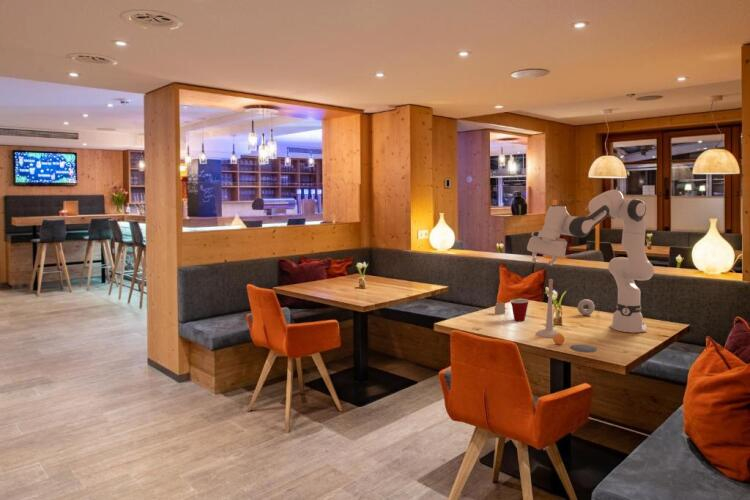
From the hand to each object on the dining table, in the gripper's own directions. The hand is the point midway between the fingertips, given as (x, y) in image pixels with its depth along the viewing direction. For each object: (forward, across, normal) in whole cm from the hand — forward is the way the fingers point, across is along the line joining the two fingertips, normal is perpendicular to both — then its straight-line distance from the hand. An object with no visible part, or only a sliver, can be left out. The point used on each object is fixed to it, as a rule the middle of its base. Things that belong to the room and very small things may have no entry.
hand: (542, 263), depth 275 cm
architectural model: (+33, +50, -45) cm, 75 cm away
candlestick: (+34, +3, -27) cm, 44 cm away
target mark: (+34, -22, -19) cm, 45 cm away
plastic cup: (+33, +33, -40) cm, 61 cm away
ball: (+34, -11, -15) cm, 38 cm away
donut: (+19, +16, -80) cm, 83 cm away
